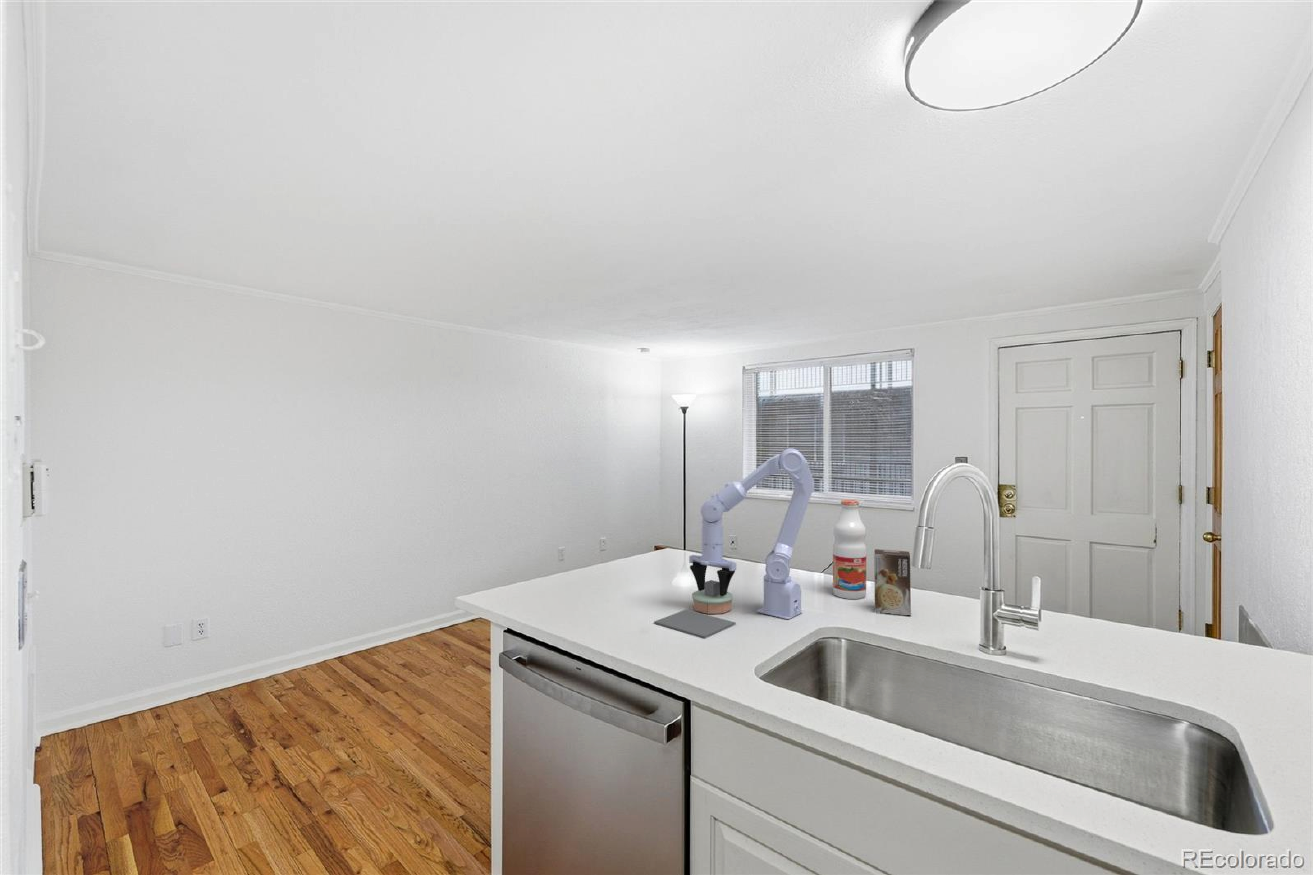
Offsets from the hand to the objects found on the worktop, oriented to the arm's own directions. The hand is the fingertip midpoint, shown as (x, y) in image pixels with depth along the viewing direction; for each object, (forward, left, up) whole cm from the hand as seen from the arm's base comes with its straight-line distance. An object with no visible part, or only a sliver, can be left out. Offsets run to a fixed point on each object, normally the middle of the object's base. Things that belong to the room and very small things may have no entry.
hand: (712, 592), depth 162 cm
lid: (0, 0, -1) cm, 1 cm away
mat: (-4, +13, -4) cm, 14 cm away
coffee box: (-38, -30, -5) cm, 49 cm away
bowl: (0, 0, -4) cm, 4 cm away
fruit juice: (-23, -37, -5) cm, 44 cm away
